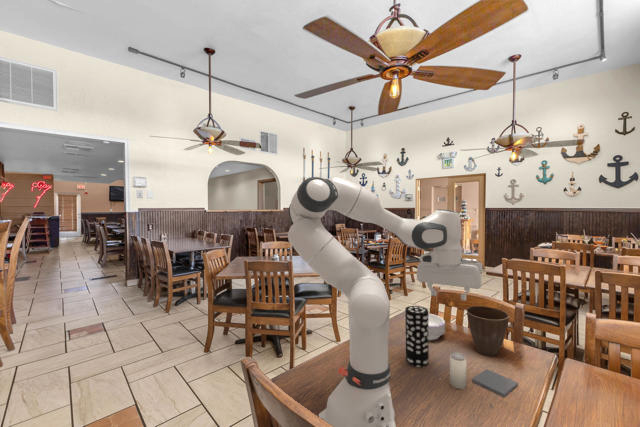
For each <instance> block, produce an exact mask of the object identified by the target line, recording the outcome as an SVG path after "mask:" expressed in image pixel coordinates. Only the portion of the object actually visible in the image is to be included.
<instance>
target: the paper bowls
mask: <svg viewBox="0 0 640 427" xmlns="http://www.w3.org/2000/svg"><path fill="white" fill-rule="evenodd" d="M445 333H446V321H445V319H444V318H442V317H441V316H439V315H437V314H433V313H429V312H428V341H436V340H438V339H439V338H440V336H442V335H444V334H445Z"/></svg>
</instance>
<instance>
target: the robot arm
mask: <svg viewBox="0 0 640 427" xmlns="http://www.w3.org/2000/svg"><path fill="white" fill-rule="evenodd" d="M327 211H333V212H334V211H335V212H338V213H340V214H341V215H343V216H346V217H347V218H350V219H352V220H355V221H357V222H362V223H370V224H374V225H377V226H379V227H380V228H382V229H385V230H387V231H388V232H390V233H392V234H393V235H395V237H396V238H397V239H398V240H399V241H400V243H402V244H403V245H405V246H409V247H412V248H416V249H419V250H430V249H433V251H429V252H426V253H423V254H421V255H420V256H419V258H418V259H419V263H418V264H417V268H416V280H417V281H418V282H419V283H425V284H426V283H427V288H428V289H429V291H430V296H431V297H437V295H438V294H437V290H435V289H434V286H433V285H434V284H435V285H442V286H450V287H451V286H452V287H459V288H463V290H464V291H465V292H464V293H461V294H460V301H467V295H468V293H469V292H470V290H471V289H475V290H479V289H481V287H483V286H482V285H483V280H482V279H483V278H482V272H483V268H484V267H483V264H482V262H481V261H479V260H478V259H476V258H472V259H470V258H464V257H463V247H462V244H461V239H462V235H463V234H462V222H461V221H462V220H461V217H460V214H459V213H458V212H457V211H454V210H450V209H441V208H439V209H435V210H434V212H433V213H431V214H430V215H428V216H426V217H424V218H421V219H415V218H408V217H407V218H405V217H400V216H399V215H397V214H395V213H393V212H391V211H390V210H388V209H386V208H385V207H383V206H382V205H381V201H380V199H379V197H378V195H376V194H375V193H374V192H373V191H371V190H369V189H368V188H367V187H365V186H363V185H360V184H358V183H356V182H354V181H352V180H349V179H346V178H343V177H339V176H330V177H328V178H323V177H319V176H312V177H308V178H306V179H305V180H304V181H302V182H301V183H300V184H299V186H298V187H297V190H296V192H295V193H294V194H293V196H292V198H291V201H290V204H289V207H288V217H289V219H290V222H291V225H290V228H289V230H288V233H287V239H288V241H289V243H290V245H291V246H292V248H293V249H294V250H295V251H296V252H297V254H298V255H299V256H300V258H301V259H302V260H303V261H304V262H305V263H306V264H307V265H308V266H309V268H311V269H312V270H313V271H314V272H315V273H316V274H317V275H318V276H319V277H320V278H321V280H322V281H324V282H325V283H326V284H328V285H331V286H332V287H334V288H335V289H337V290H338V291H339V292H340V293H342V294H343V295H344V296H345V297H346V298H347V300H348V301H347V303H348V304H347V305H348V306H347V310H348V328H349V329H348V331H349V332H348V335H349V361H348V363H347V366H346V367H347V368H345V367H344V366H342V365H341V366H339V368H338V371H337V372H338V373H339V375H342V376H343V377H344V378H343V379H342V380H341V381H340V383H339V384H338V385H337V386H336V387H335V389H334V390H333V391H332V392H331V394H330V395H329V396H328V397H327V403H326V407H325V409H323V410H322V411H320V412H319V413H318V415H317V416H319V417H320V418H322V419H323V420H325V421H326V422H328V423H329V424H331V425H333V426H334V427H397V426H396V422H395V417H396V413H395V412H396V411H395V409H394V406H393V400H392V393H391V386H390V380H391V365H390V362H389V334H390V314H391V312H390V310H391V309H390V308H391V305H390V304H391V303H390V299H389V295H388V292H387V289H386V286H385V284H384V282H383V281H382V279H380V277H379V276H377V275H376V274H375V273H374V272H373V271H372V270H371V269H370V268H368V266H366V265H365V264H363V262H361V261H360V260H359V259H357V258H356V256H354V255H353V254H352V253H351V252H350V251H349V250H348V249H347V248H346V247H344V245H342V244H341V242H340V241H338V240H337V239H336V237H334V235H332V233H331V232H329V231H328V230H327V229H326V228H325V226H324V225H323V223H322V221H321V219H322V217H324V216H325V214H326V212H327Z"/></svg>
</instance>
